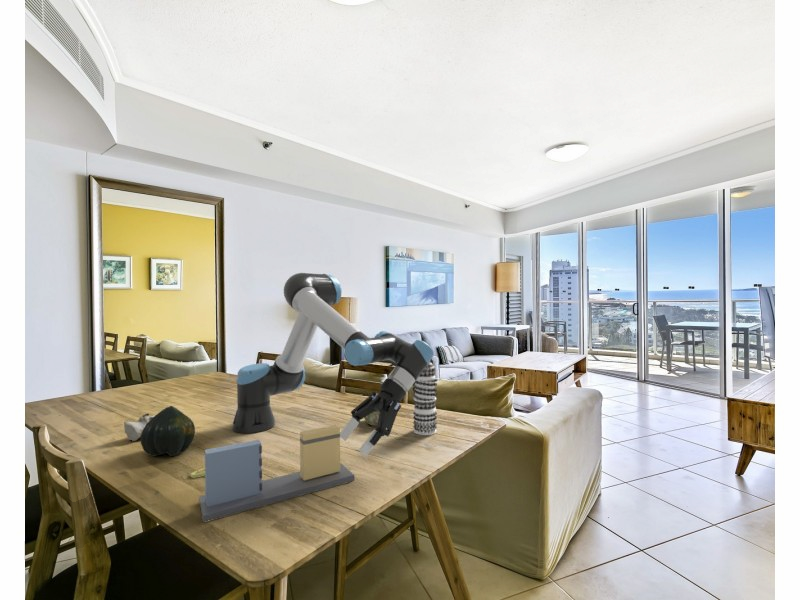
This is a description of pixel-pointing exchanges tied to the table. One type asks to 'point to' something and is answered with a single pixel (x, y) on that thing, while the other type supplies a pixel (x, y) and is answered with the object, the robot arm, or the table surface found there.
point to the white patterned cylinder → (425, 402)
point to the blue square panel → (233, 472)
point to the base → (276, 492)
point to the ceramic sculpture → (136, 427)
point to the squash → (168, 433)
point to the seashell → (372, 418)
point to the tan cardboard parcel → (319, 452)
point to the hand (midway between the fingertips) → (351, 445)
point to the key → (197, 474)
